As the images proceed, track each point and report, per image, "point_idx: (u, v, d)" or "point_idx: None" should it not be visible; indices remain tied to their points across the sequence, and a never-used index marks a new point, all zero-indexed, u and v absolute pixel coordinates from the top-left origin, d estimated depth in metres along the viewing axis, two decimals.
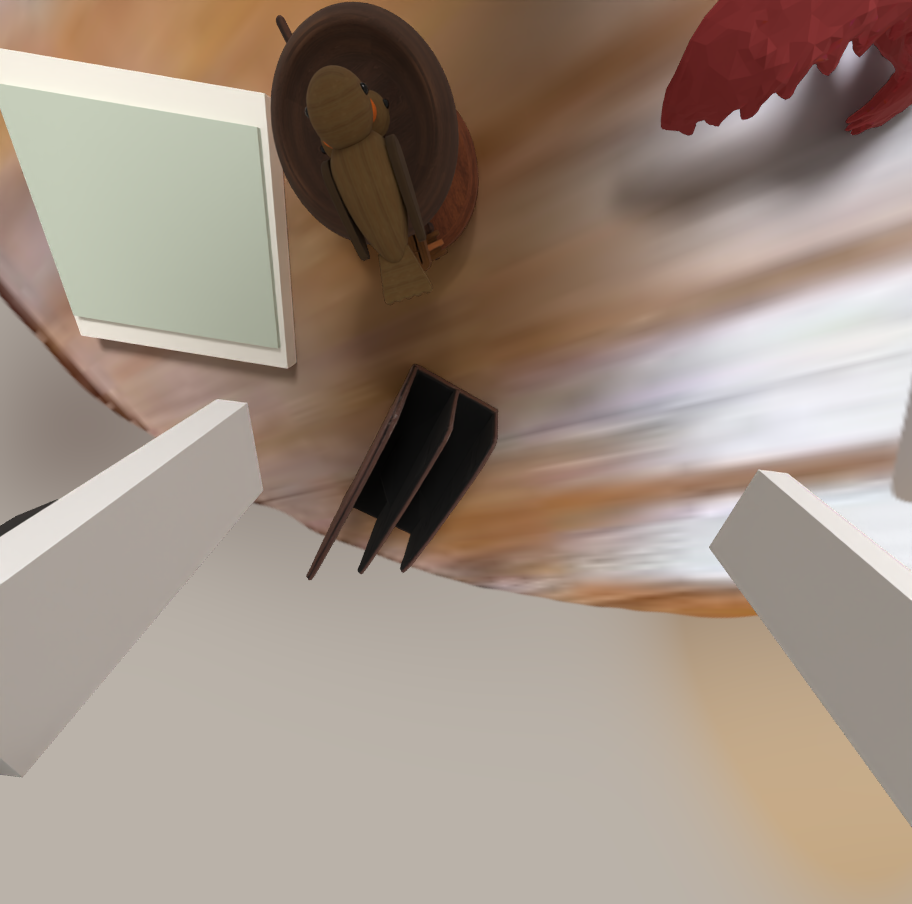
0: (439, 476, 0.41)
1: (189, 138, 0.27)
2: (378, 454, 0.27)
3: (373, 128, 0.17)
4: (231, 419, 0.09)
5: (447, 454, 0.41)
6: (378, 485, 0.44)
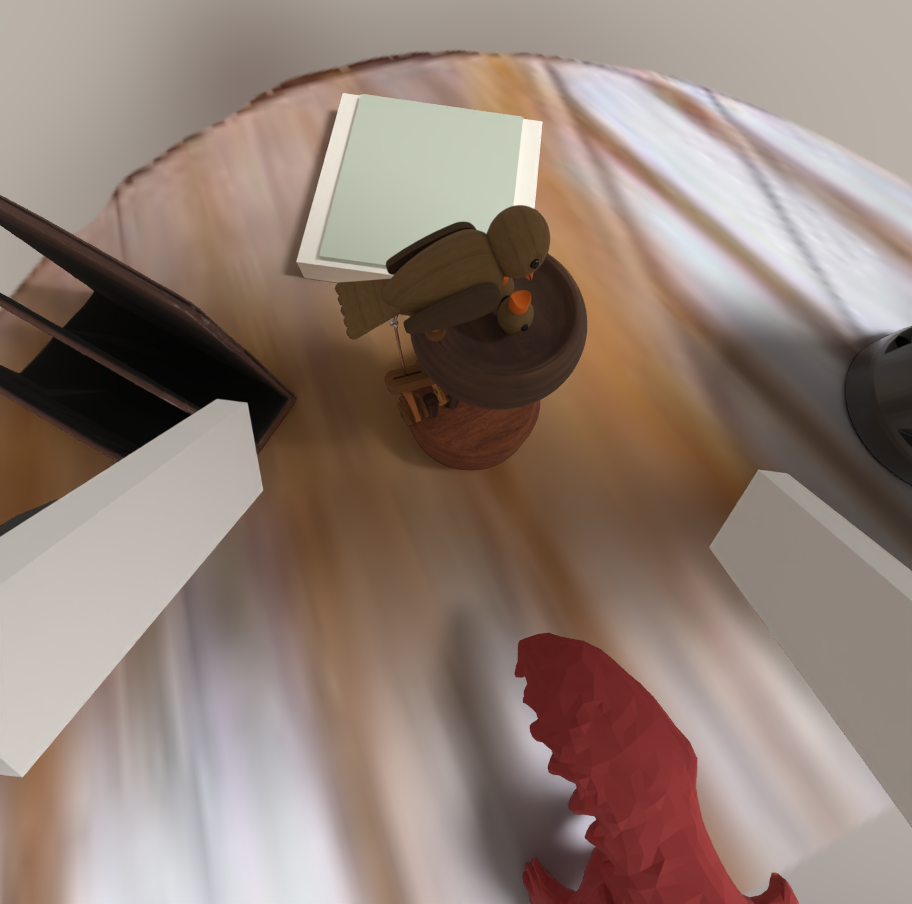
0: (122, 417, 0.28)
1: None
2: (141, 283, 0.18)
3: (506, 311, 0.17)
4: (231, 419, 0.09)
5: (160, 431, 0.29)
6: (122, 337, 0.31)
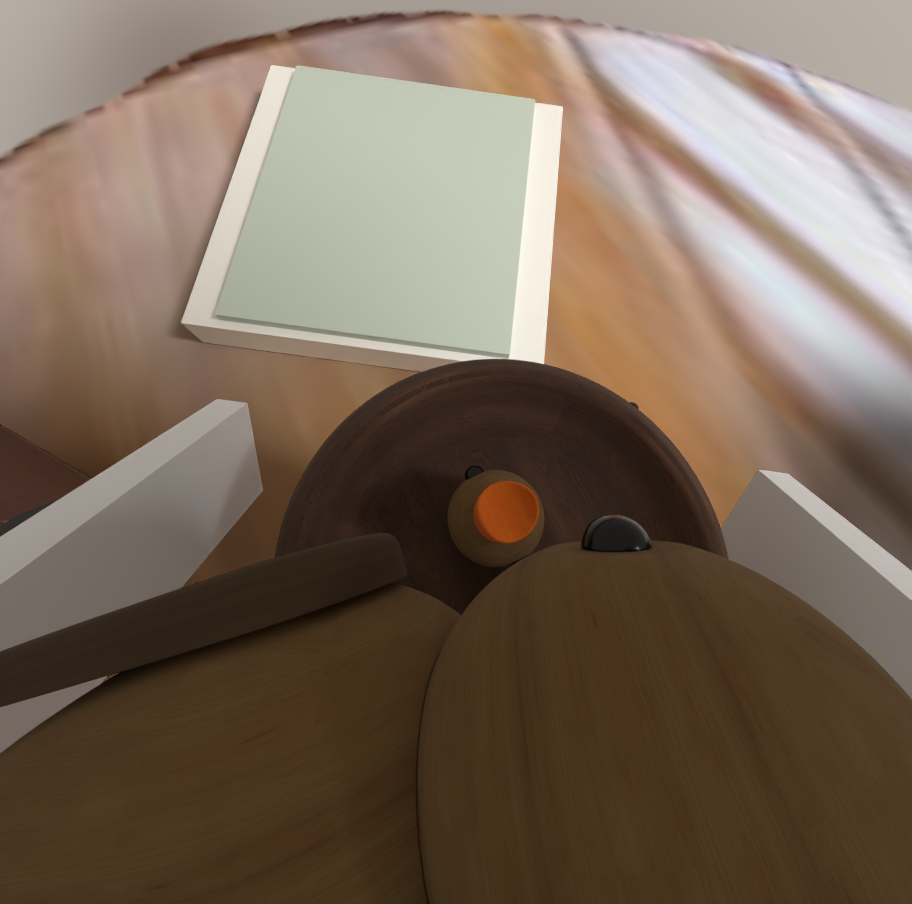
0: None
1: (494, 271, 0.22)
2: None
3: None
4: (231, 419, 0.09)
5: None
6: None
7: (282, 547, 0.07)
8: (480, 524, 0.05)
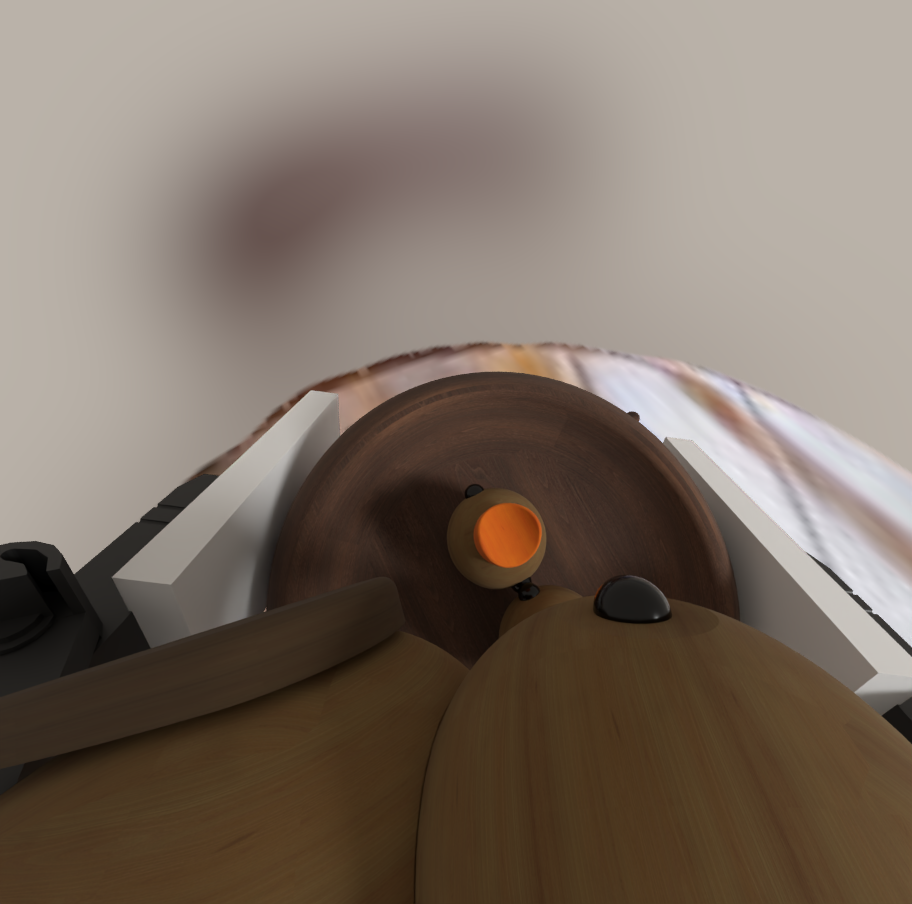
0: None
1: None
2: None
3: None
4: (328, 408, 0.10)
5: None
6: None
7: (276, 568, 0.07)
8: (481, 548, 0.05)
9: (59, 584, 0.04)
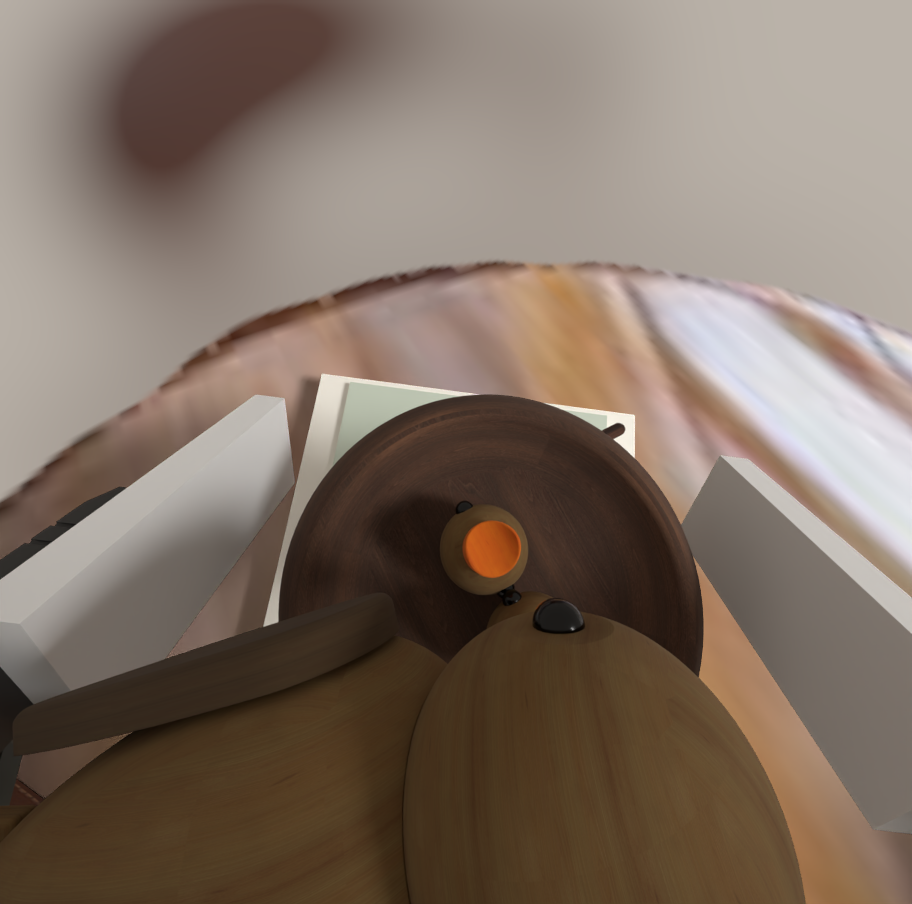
0: None
1: None
2: None
3: None
4: (271, 413, 0.09)
5: None
6: None
7: (288, 576, 0.07)
8: (467, 561, 0.06)
9: None
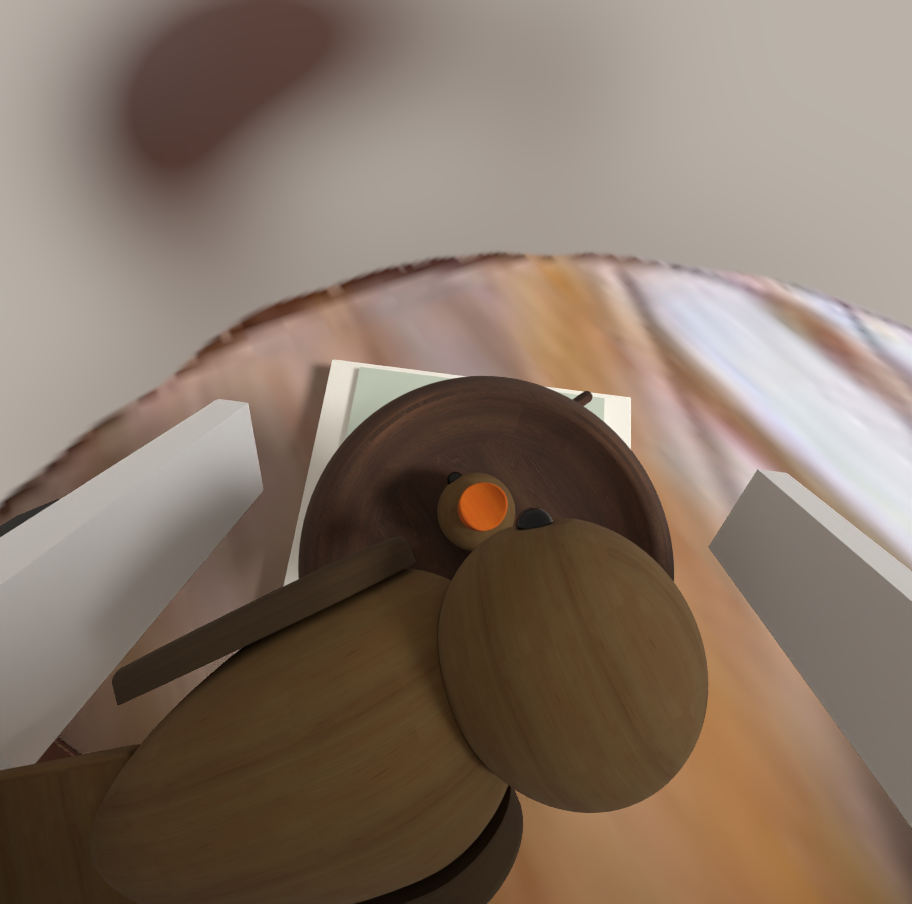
0: None
1: None
2: None
3: None
4: (232, 419, 0.09)
5: None
6: None
7: (305, 560, 0.08)
8: (463, 519, 0.07)
9: None
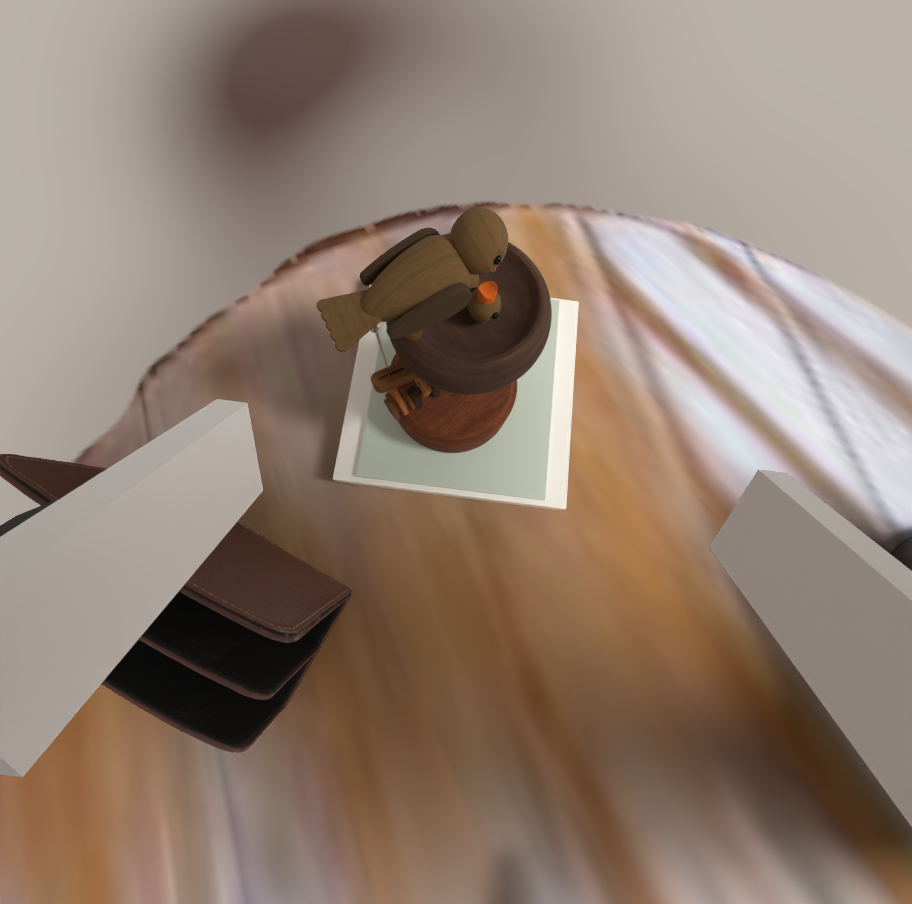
0: None
1: (534, 439, 0.33)
2: (238, 621, 0.19)
3: (475, 303, 0.19)
4: (231, 419, 0.09)
5: None
6: None
7: None
8: None
9: None
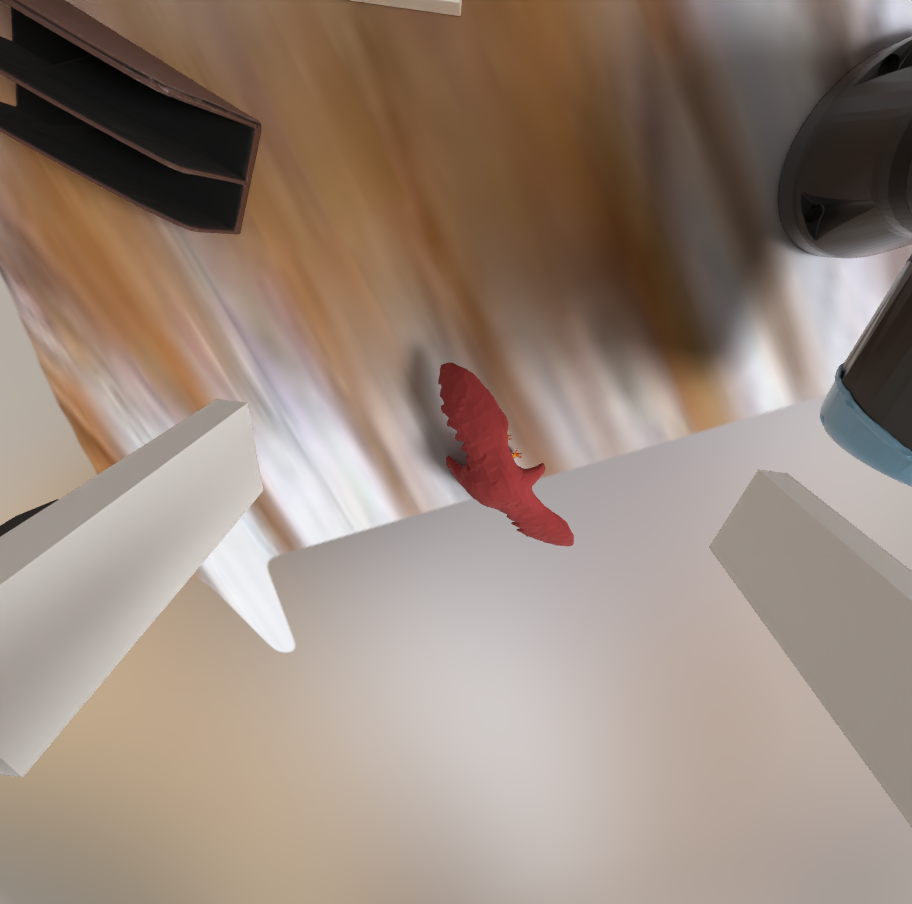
0: (129, 158, 0.34)
1: None
2: (101, 57, 0.22)
3: None
4: (231, 419, 0.09)
5: (164, 170, 0.35)
6: (73, 50, 0.31)
7: None
8: None
9: None
